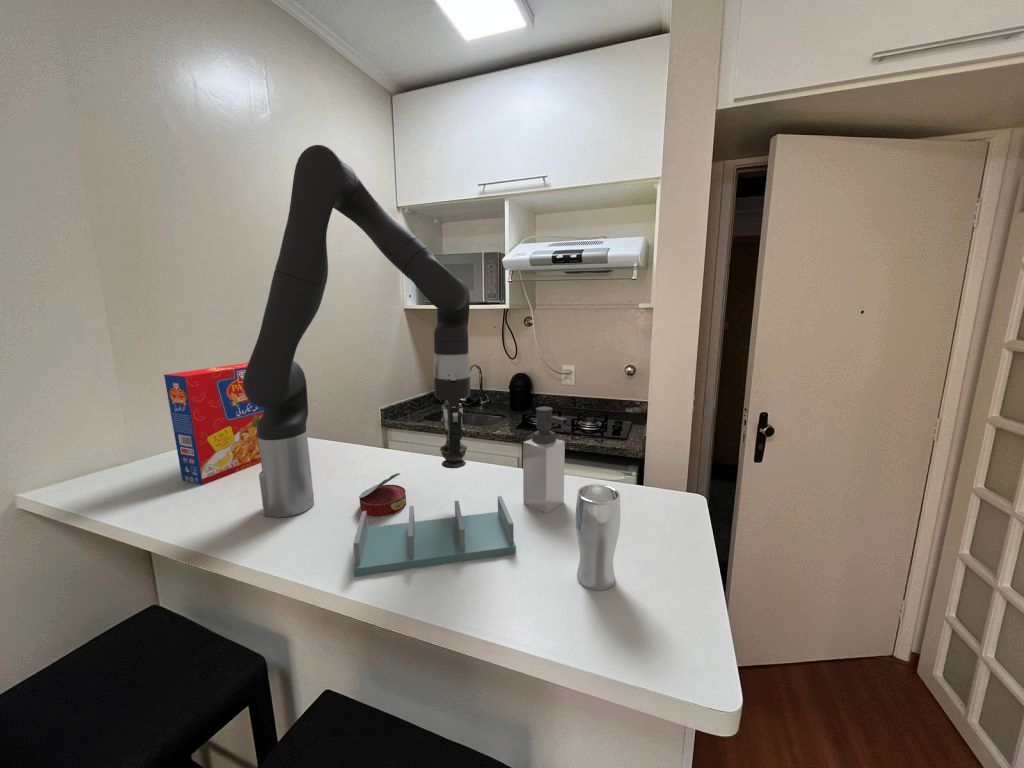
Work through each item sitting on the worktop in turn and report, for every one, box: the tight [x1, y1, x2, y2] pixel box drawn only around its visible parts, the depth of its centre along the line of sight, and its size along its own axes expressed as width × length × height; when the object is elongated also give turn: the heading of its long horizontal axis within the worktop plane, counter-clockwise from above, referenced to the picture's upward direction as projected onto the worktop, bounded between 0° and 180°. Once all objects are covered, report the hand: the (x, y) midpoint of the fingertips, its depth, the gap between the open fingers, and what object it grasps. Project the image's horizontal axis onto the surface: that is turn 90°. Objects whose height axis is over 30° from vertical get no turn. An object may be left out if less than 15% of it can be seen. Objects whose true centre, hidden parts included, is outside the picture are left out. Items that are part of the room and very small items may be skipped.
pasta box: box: [163, 362, 264, 486], centre depth 115 cm, size 28×8×28 cm, turn 159°
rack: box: [352, 495, 517, 578], centre depth 77 cm, size 28×13×6 cm, turn 103°
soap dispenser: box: [522, 406, 568, 514], centre depth 90 cm, size 6×9×22 cm
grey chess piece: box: [439, 422, 468, 469], centre depth 89 cm, size 6×6×12 cm
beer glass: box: [575, 483, 622, 591], centre depth 66 cm, size 7×7×15 cm
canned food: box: [358, 472, 407, 518], centre depth 91 cm, size 11×10×10 cm
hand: (453, 450), depth 89 cm, fingers closed on grey chess piece, 6 cm apart
